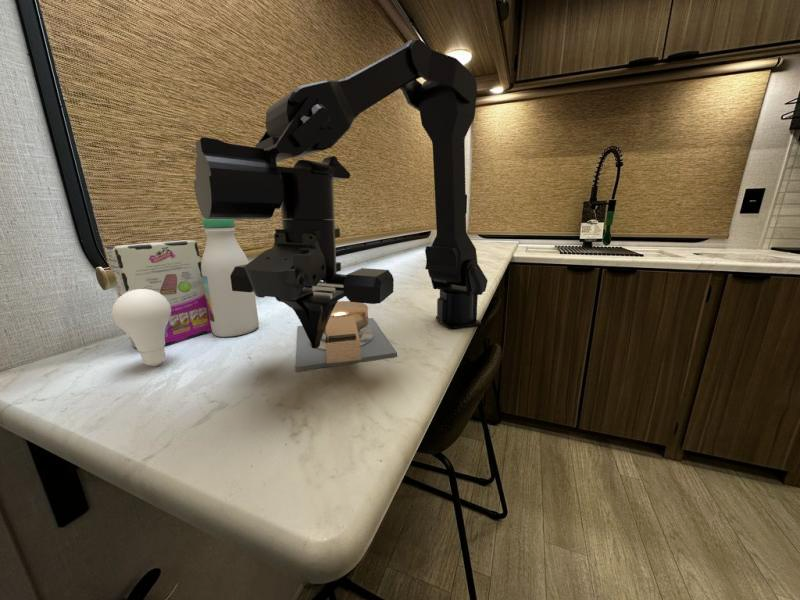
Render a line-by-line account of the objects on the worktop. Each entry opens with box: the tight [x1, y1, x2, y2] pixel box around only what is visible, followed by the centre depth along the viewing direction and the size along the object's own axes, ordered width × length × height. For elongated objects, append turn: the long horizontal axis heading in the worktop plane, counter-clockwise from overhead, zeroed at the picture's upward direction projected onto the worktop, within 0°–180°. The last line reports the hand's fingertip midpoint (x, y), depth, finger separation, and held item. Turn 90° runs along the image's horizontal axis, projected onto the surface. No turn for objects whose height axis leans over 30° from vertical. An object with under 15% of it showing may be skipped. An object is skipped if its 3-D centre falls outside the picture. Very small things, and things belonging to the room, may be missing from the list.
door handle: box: [324, 300, 369, 364], centre depth 46 cm, size 18×9×3 cm, turn 12°
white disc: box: [308, 327, 373, 351], centre depth 51 cm, size 10×10×2 cm
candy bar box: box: [104, 239, 212, 348], centre depth 52 cm, size 11×5×16 cm, turn 148°
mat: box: [295, 317, 398, 372], centre depth 51 cm, size 14×17×1 cm
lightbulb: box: [111, 289, 171, 367], centre depth 43 cm, size 6×6×11 cm
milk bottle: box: [201, 217, 260, 338], centre depth 55 cm, size 8×8×20 cm
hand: (316, 347), depth 39 cm, fingers closed
